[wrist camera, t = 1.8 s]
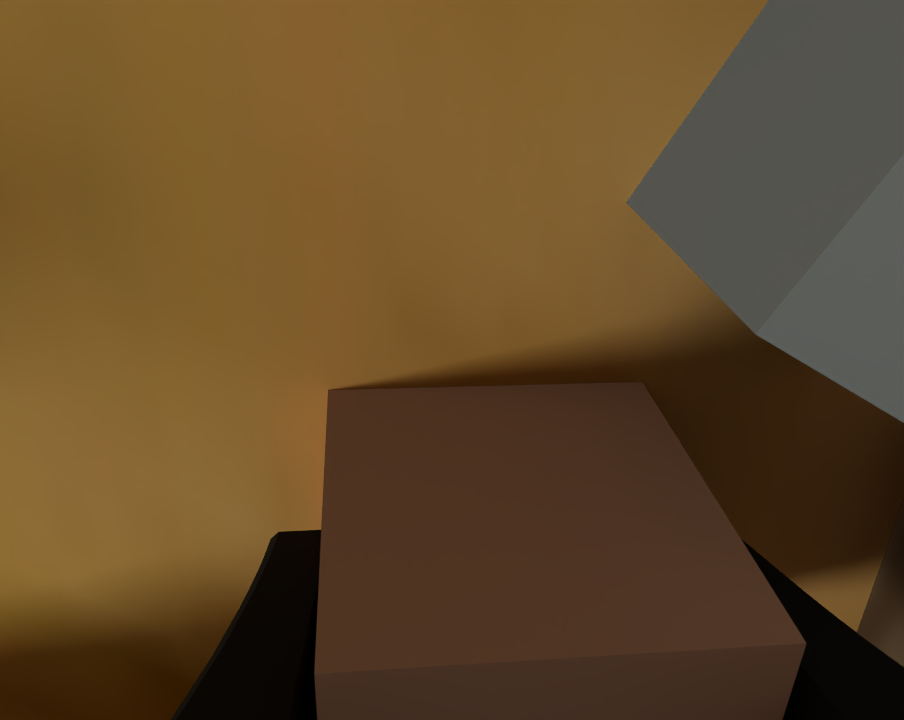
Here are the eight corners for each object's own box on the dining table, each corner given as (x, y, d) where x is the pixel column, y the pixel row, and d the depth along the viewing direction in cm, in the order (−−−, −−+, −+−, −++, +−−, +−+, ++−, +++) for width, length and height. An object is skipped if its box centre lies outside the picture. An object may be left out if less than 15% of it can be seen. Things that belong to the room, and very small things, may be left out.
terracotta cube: (604, 610, 14) (718, 920, 10) (338, 625, 14) (332, 959, 9) (641, 379, 12) (806, 643, 8) (328, 387, 12) (314, 674, 7)
